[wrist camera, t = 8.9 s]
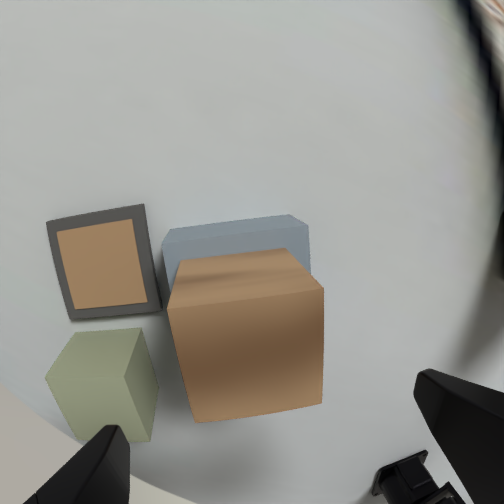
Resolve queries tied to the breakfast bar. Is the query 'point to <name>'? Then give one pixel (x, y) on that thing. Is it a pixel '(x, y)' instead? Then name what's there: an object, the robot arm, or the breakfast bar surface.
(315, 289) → the walnut cube
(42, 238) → the breakfast bar surface
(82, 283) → the mat
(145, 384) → the olive cube
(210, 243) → the base block
